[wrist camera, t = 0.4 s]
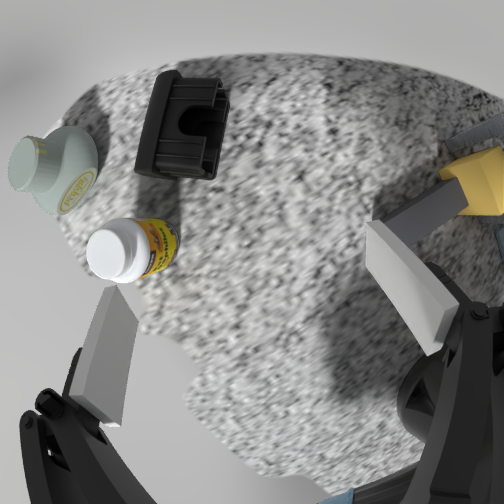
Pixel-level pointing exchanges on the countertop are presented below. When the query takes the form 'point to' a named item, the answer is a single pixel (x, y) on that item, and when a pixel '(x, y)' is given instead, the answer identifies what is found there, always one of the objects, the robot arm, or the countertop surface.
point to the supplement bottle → (132, 248)
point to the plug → (453, 196)
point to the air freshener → (55, 168)
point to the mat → (500, 240)
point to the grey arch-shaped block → (475, 134)
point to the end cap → (183, 128)
